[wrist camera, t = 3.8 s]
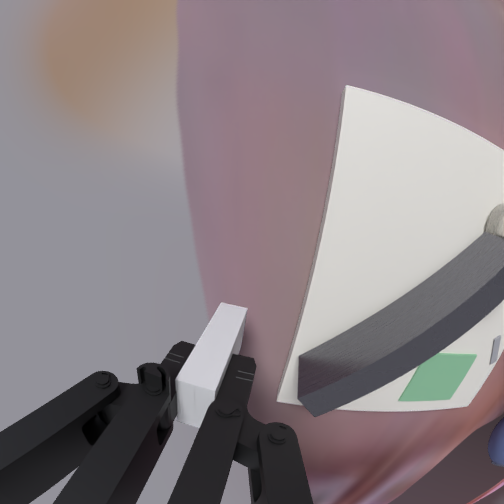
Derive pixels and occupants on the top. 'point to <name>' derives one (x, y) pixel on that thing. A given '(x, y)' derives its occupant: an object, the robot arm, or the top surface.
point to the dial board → (400, 242)
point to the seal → (497, 444)
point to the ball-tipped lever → (407, 327)
